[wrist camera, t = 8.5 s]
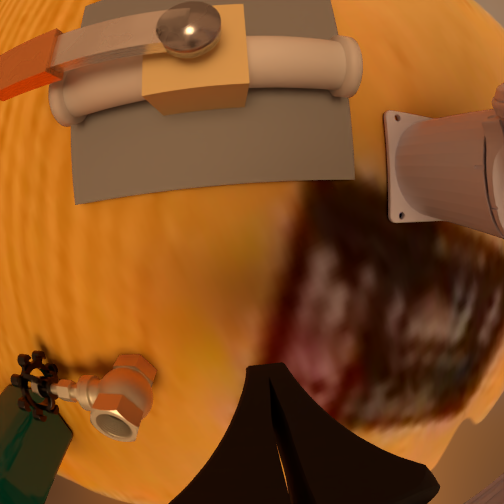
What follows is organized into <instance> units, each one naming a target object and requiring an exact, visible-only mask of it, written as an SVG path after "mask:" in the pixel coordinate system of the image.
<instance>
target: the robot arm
mask: <svg viewBox="0 0 504 504" xmlns="http://www.w3.org/2000/svg"><path fill="white" fill-rule="evenodd" d="M492 105H493V108H494V109H490V110H483V111H476V112H470V113H463V114H458V115H452V116H447V117H441V118H436V119H433V118H429V117H424V116H419V115H414V114H409V113H403V112H397V111H391V110H390V111H386V112H385V113H384V125H385V136H386V149H387V167H388V218H389V220H390V221H391V222H394V223H402V222H424V221H448V222H451V223H455V224H458V225H462V226H465V227H468V228H472V229H475V230H478V231H481V232H485V233H488V234H491V235H494V236H497V237H500V238H503V239H504V83H502V84H501V85H499V86H498V87H497V89H496V93H495V96H494V97H493V99H492ZM395 116H396V117H397V119H398V121H396V120H395ZM400 212H401V213H402V216H401V218H399V214H400ZM276 444H277V445H276ZM277 447H278V449H277ZM278 451H279V453H278ZM279 454H280V458H281V461H282V464H283V468H284V472H285V476H286V481H287V486H286V482H285V478H284V474H283V470H282V466H281V462H280V458H279ZM287 487H288V490H287ZM439 489H440V485H439V484H438V482H437V480H436V478H435V477H434V475H433V474H432V473H431V471H430V470H429V469H428V468H427V467H426V465H424V464H420V463H417V462H414V461H411V460H407V459H404V458H401V457H399V456H396V455H394V454H391V453H389V452H387V451H385V450H382V449H380V448H378V447H377V446H375V445H373V444H371V443H369V442H367V441H366V440H364V439H362V438H360V437H359V436H357V435H355V434H354V433H352V432H351V431H350V430H348V429H347V428H345V427H344V426H343V425H341V424H340V423H339V422H337V421H336V420H335V419H334V418H332V417H331V416H330V415H329V414H328V413H327V412H325V411H324V410H323V409H322V408H321V407H320V406H319V405H318V404H317V403H316V402H315V401H314V400H313V399H312V398H311V397H310V396H309V395H308V394H307V392H306V391H305V390H304V389H303V388H302V387H301V386H300V384H299V383H298V382H297V381H296V379H295V378H294V377H293V375H292V374H291V373H290V371H289V370H288V368H287V367H286V365H285V364H284V363H282V362H281V363H273V364H264V365H254V366H249V367H247V368H246V378H245V384H244V388H243V391H242V394H241V397H240V400H239V403H238V406H237V409H236V411H235V414H234V416H233V418H232V420H231V423H230V425H229V427H228V429H227V431H226V433H225V435H224V436H223V438H222V440H221V442H220V443H219V445H218V447H217V448H216V450H215V451H214V453H213V454H212V456H211V457H210V459H209V460H208V461H207V463H206V464H205V465H204V467H203V468H202V469H201V470H200V472H199V473H198V474H197V475H196V476H195V478H194V479H193V480H192V481H191V482H190V483H189V484H188V486H187V487H186V488H185V489H184V490H183V491H182V492H181V493H179V494H178V495H177V496H176V497H175V498H174V499H173V500H172V501H171V502H170V503H169V504H427V503H428V502H429V501H431V500H432V498H434V497H435V495H436V494H437V493H438V491H439ZM288 492H289V493H288ZM464 504H504V473H503V474H502V475H501V476H499V477H498V478H497V479H496V480H495V481H493V482H492V483H491V484H490V485H488V486H487V487H486V488H484V489H483V490H482V491H481V492H479V493H478V494H476V495H475V496H474V497H472V498H471V499H469V500H468V501H467V502H465V503H464Z"/></svg>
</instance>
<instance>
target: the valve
mask: <svg viewBox="0 0 504 504" xmlns="http://www.w3.org/2000/svg"><path fill="white" fill-rule="evenodd" d="M30 359H31V357H30V356H29V355H27V354H19V356H18V364H19V365H20V366H21V367H22V372H21V375H18V374H13V375H12V376H11V383H12V385H13V386H14V387H17V388H20V389H21V392H22V397H21V398H19V399H18V402H17V404H18V407H19V408H20V409H21V410H23V411H27V412H30V411H31V409H30V408H29V407H30V406H31V407H32V408H33V412H32V415H33V418H34V419H35V420H37V421H41V422H45V421H46V419H47V416H45V415H43V410H45V411H47V412H48V413H50V414H55V415H56V414H58V412H59V408H58V405H55V400H56V399H57V398H58V397H59V398H61V399H62V400H65V401H70V402H77V401H79V403H80V405H81V407H82V408H83V409H85V410H87V411H91V417H90V420H91V423H92V424H93V426H94V427H95V428H96V429H98V430H99V431H100V432H101V433H103V434H104V435H106V436H107V437H109V438H112V439H114V440H118V441H124V442H131V441H135V440H136V436H137V433H138V429H139V426H140V423H141V420H142V419H143V418H145V417H146V416H147V414H148V413H149V411H150V409H151V407H152V403H153V393H152V389H151V387H152V384H153V381H154V378H155V375H156V372H157V370H156V369H155V368H154V367H153V366H152V365H151V364H150V363H149V362H148V361H147V360H146V359H145V358H144V357H143V356H141V355H140V354H128V355H119V356H118V358H117V360H116V362H115V364H114V365H113V370H111V371H110V372H108V373H107V374H106V375H105V376H104V377H103V378H102V380H100V379H99V377H97V376H95V375H83V376H81V377H80V378H79V380H78V382H77V383H75V382H74V381H72V380H65V379H61V380H60V381H59V382H58V376H57V372H58V369H57V367H56V365H55V364H51V363H47V364H45V365H44V364H42V359H46V356H45V353H44V352H43V351H36V350H35V351H33V353H32V359H33V361H32V362H29V360H30ZM35 368H38V369H39V370H40V371H41V372H42V373H43V375H44V376H39V377H38V376H33V375H30V372H31V371H32V370H33V369H35ZM28 381H29V382H31V388H32V391H33V392H34V393H35V394H37V395H39V396H41V397H43V398H45V399H44V401H43V402H41V403H39V404H38V403H36V402H35V401H34V400H33V399H32V397H31V395H30V393H29V390H28Z"/></svg>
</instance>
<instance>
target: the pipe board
mask: <svg viewBox="0 0 504 504" xmlns="http://www.w3.org/2000/svg"><path fill="white" fill-rule="evenodd" d="M190 1H198V2H204V3H207V4H210V5H211V6H213V7H214V8H215V9H216V10H217V11H218V12H219V14H220V17H221V37H220V40H219V42H218V43H217V45H216V46H215V47H214V48H213V49H211V50H210V51H209V52H207V53H205V54H203V55H201V56H198V57H193V58H178V57H175V56H172V55H170V54H169V53H167V52H163V53H153V54H145V55H138V56H131V57H125V58H120V59H114V60H109V61H104V62H100V63H95V64H91V65H87V66H83V67H79V68H76V69H72V70H68V71H65V72H64V74H63V79H62V80H60V81H57V82H54V83H50V85H49V104H50V108H51V111H52V114H53V116H54V117H55V119H56V120H57V121H58V123H60V124H61V125H62V126H66V127H68V126H71V155H72V174H73V187H74V197H75V205H78V204H83V203H89V202H95V201H100V200H106V199H112V198H119V197H125V196H132V195H139V194H146V193H153V192H161V191H169V190H178V189H187V188H196V187H206V186H217V185H229V184H242V183H257V182H275V181H298V180H355V170H354V152H353V138H352V127H351V116H350V107H349V99H348V98H350V97H352V96H354V95H355V93H356V92H357V90H358V88H359V86H360V83H361V79H362V72H363V61H362V54H361V50H360V48H359V45H358V43H357V42H356V41H355V40H354V39H353V38H351V37H346V36H340V35H338V31H337V27H336V22H335V18H334V13H333V9H332V5H331V1H330V0H101V1H99V2H96V3H93V4H91V5H88V6H86V7H85V11H84V15H83V20H82V24H81V28H82V27H86V26H89V25H92V24H96V23H100V22H104V21H108V20H112V19H116V18H120V17H125V16H130V15H136V14H141V13H147V12H154V11H162V10H168V9H170V8H171V7H173V6H175V5H178V4H180V3H184V2H190Z"/></svg>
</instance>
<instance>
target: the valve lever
mask: <svg viewBox="0 0 504 504" xmlns="http://www.w3.org/2000/svg"><path fill="white" fill-rule="evenodd" d="M220 37H221V17H220V14H219V12H218V11H217V10H216V9H215V8H214V7H213V6H211V5H210V4H207V3H204V2H198V1H190V2H184V3H180V4H178V5H175V6H173V7H171V8H170V9H168V10H162V11H154V12H147V13H141V14H136V15H130V16H125V17H120V18H116V19H112V20H108V21H104V22H100V23H96V24H92V25H89V26H86V27H82V28H79V29H76V30H73V31H70V32H67V33H64V34H63V33H62V32H61V31H60V30H58V29H54V30H52V31H49V32H47V33H45V34H42V35H40V36H38V37H35V38H33V39H31V40H29V41H27V42H25V43H23V44H21V45H19V46H17V47H15V48H13V49H11V50H9V51H7V52H5V53H4V54H2V55H0V100H1V101H5V100H8V99H10V98H12V97H15V96H17V95H20V94H22V93H25V92H27V91H30V90H33V89H36V88H39V87H41V86H44V85H47V84H50V83H54V82H57V81H60V80H62V79H63V74H64V72H65V71H68V70H72V69H76V68H79V67H83V66H87V65H91V64H95V63H100V62H104V61H109V60H114V59H120V58H125V57H131V56H138V55H145V54H153V53H163V52H167V53H169V54H170V55H172V56H175V57H178V58H193V57H198V56H201V55H203V54H205V53H207V52H209V51H210V50H211V49H213V48H214V47H215V46H216V45H217V43H218V42H219V40H220Z"/></svg>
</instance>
